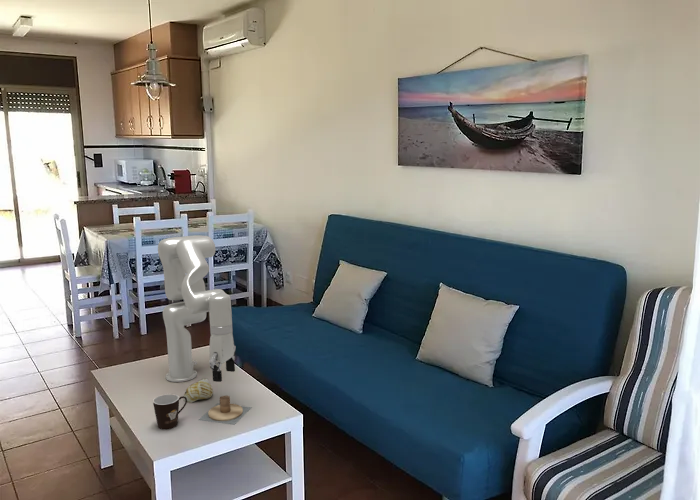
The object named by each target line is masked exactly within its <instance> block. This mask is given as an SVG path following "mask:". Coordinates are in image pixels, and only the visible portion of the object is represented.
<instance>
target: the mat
mask: <svg viewBox="0 0 700 500" xmlns="http://www.w3.org/2000/svg"><path fill="white" fill-rule="evenodd" d="M217 405H220V402H219V403H218V402H217V403H216V404H215V405H214V406H213V407H215V406H217ZM240 406H241V407H242V409H243V413H242V415H241V416H239V417H238V418H236V419H233V420H229V421H215V420H212V419H210V418H209V416H208V412H209V410H208V411H207V412H206V413H204V414H203V415H202V416H201V417H200V418H199V419H198V421H204V422H211V423H218V424H224V425H225V424H226V425H234V426H235V425H236V424H237V423H238V422H239V421H240V420H241V419H242V418H243V417H244V416H245V415H247V413H248V412H249V411H251V410H252V408H253V407H252V406H245V405H240Z"/></svg>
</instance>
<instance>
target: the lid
mask: <svg viewBox="0 0 700 500" xmlns="http://www.w3.org/2000/svg"><path fill="white" fill-rule="evenodd" d="M219 403H220V405H217V406H215V405H214V406H215V407H214V406H212V407H211V408H209V410H208V411H209V412H208V411H207V412H208V416H209V418H210V419H212V420H215V421H229V420H233V419H236V418H238V417H239V416H241V415H242V413H243V409H242V407H241V406H242V405H239V404H237V403H231V397H230V395H222V396H219Z"/></svg>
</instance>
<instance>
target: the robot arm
mask: <svg viewBox="0 0 700 500" xmlns="http://www.w3.org/2000/svg"><path fill="white" fill-rule="evenodd" d="M157 252H158V253H157V254H158V258H159V260H160V262H161V264H162V269H163V278H164V279H163V281H164V282H163V283H164V292H165V296H166V298H167V299H168V300H169V301H180V300H183V301H180V302H174V303H170V304H168V305H166V306H165V307H164V308H163V310H162V319H163V323H164V326H165V333H166V342H167V343H166V345H167V357H168V358H167V359H168V372H167V373H166V374H165V379H166V380H167V381H168V382H172V383H182V382H188V381H191V380H193V379H195V378H196V377H197V376H198V372H197V370H196V369H194V367H195V366H197V365H198V361H197V360H196V359H195V360H193V351H192V335H191V332H190V331H189V330H188V329H187V328H186V327H185V326H187V325H192V324H197V323H201V322H204V321H205V320H206V318H207V313H209V331H210V332H209V333H210V338H209V361H208V364H209V366H210V369H211V373H212V382H216V383H217V382H218V383H222V381H223V377H222V376H223V375H222V370H221V368H222V365H223V364H224V363H225V369H226V370H225V371H226V372H230V373H234V372H236V368H235V367H236V366H235V365H236V364H235V360H236V345H235V341H234V335H233V331H234V330H233V318H232V317H233V314H232V299H231V296H230V295H229V294H227V293H226V292H225V291H224V290H223V289H221V288H216V289H210V290H209V289H208V290H206V284H205V281H204V278H205V277H206V276H207V275H208V273H209V271H210V266H209V264H208V262H207V260H206V259H207V258H208V259H209V258H212V257H213V256H215V255H216V254H215V253H216V245H215V242H214V240H213V239H212V238H211V237H210V236H208V235H200V234H199V235H187V236H186V235H184V236H175V237H173V236H172V237H167V238H163V239H161V240H160V241H159V243H158V245H157Z"/></svg>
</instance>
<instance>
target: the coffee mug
mask: <svg viewBox="0 0 700 500" xmlns="http://www.w3.org/2000/svg"><path fill="white" fill-rule="evenodd" d="M183 398H185V401H184V403H183V406H182V407H181V408H180V407H179V406H180V405H179V404H180V401H181V400H182V399H183ZM152 404H153V408H154V414H155V418H156V422H157V423H156V424H157V427H158V429H159V430H164V431H165V430H172V429H174V428H176V427H177V426H178V424H179V415H180V413H181V412H182V411H183V410H184V409H185V408H186V406H187V398H186V397H184V395H183V396H180V395H178V394H173V393H166V394H165V393H164V394H161V395H158V396H156V397H154V398H153V399H152Z"/></svg>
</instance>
